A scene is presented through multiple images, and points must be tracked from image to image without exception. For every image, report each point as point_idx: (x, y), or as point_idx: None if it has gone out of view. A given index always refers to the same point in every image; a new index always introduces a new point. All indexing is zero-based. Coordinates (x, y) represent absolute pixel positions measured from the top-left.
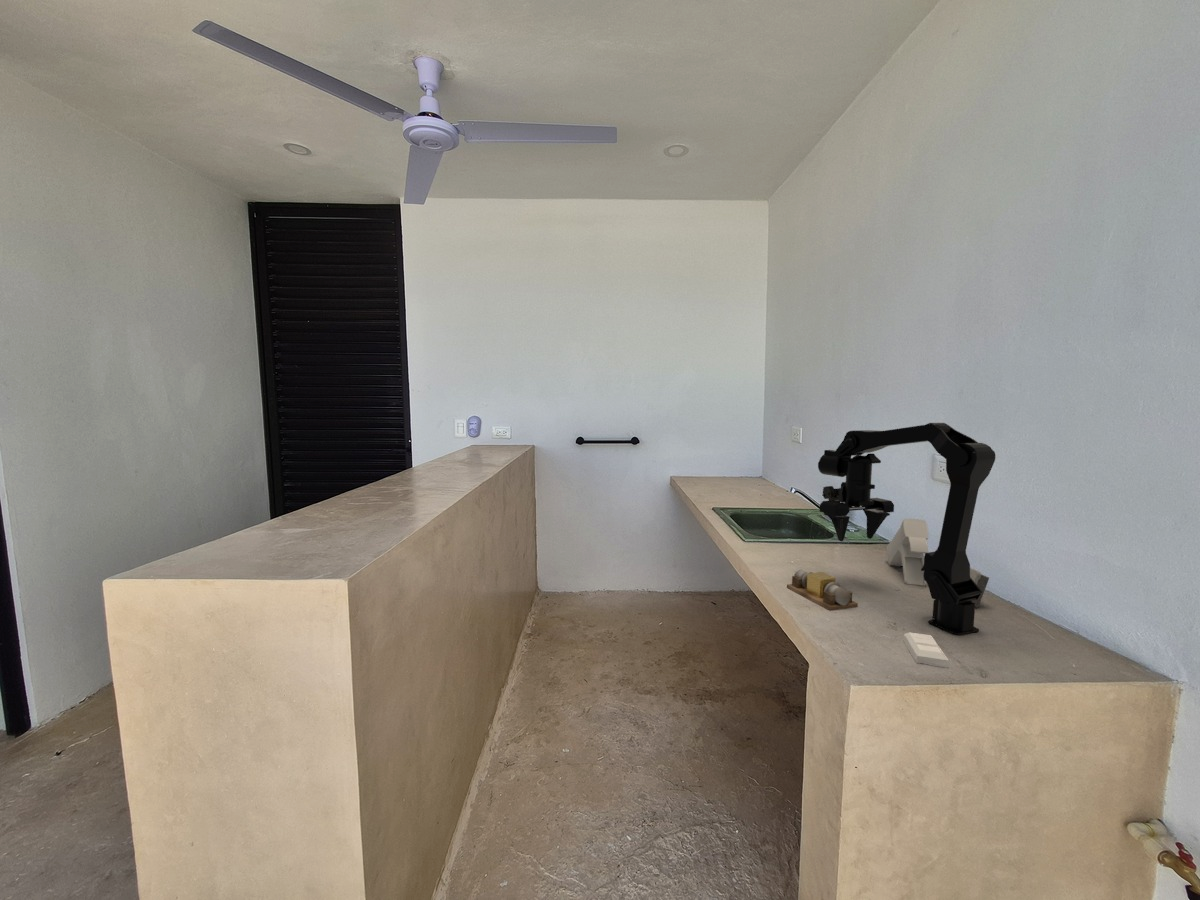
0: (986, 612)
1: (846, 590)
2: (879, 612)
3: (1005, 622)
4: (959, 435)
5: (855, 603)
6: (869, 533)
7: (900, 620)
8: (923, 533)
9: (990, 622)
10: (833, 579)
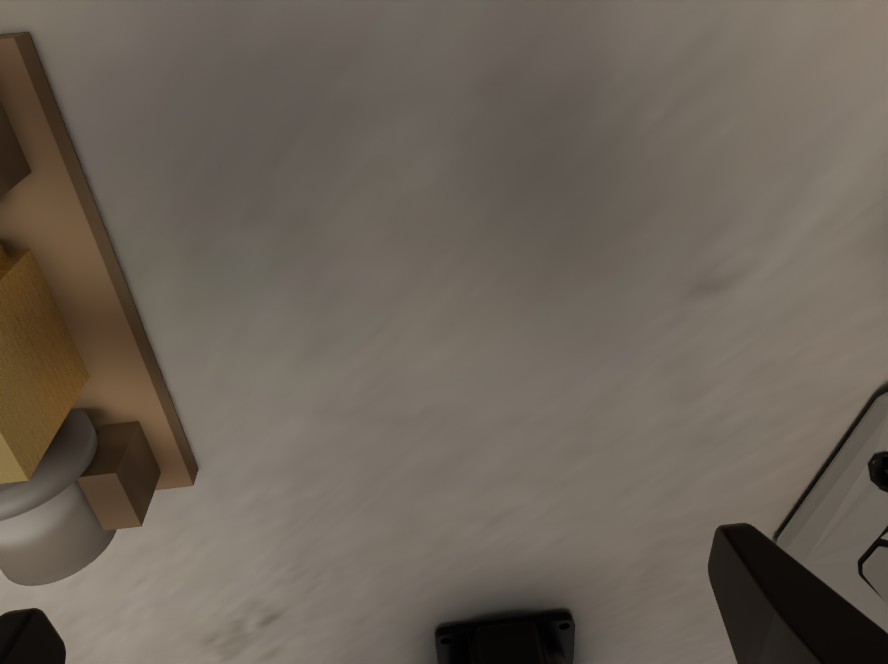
0: None
1: (55, 581)
2: (283, 533)
3: None
4: None
5: (176, 485)
6: (755, 642)
7: (325, 600)
8: None
9: (711, 634)
10: (7, 476)
